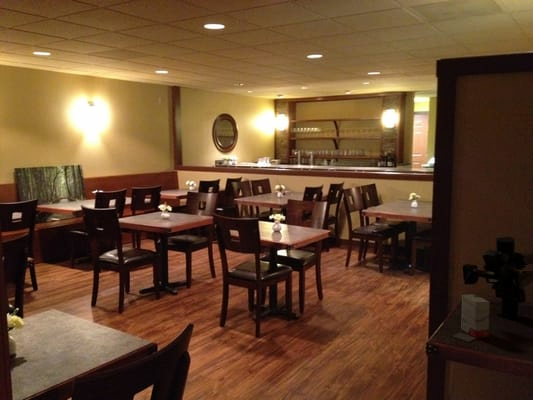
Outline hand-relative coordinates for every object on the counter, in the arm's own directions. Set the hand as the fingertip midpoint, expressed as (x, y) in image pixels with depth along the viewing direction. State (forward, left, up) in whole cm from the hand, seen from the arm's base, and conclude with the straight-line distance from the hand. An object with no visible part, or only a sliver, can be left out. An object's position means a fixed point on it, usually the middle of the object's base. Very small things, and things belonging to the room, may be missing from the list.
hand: (478, 285), depth 149 cm
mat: (+7, 0, -16) cm, 17 cm away
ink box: (+1, 0, -16) cm, 16 cm away
